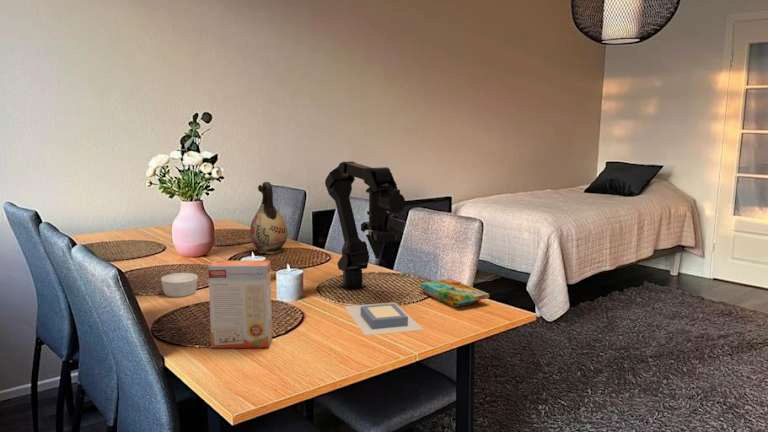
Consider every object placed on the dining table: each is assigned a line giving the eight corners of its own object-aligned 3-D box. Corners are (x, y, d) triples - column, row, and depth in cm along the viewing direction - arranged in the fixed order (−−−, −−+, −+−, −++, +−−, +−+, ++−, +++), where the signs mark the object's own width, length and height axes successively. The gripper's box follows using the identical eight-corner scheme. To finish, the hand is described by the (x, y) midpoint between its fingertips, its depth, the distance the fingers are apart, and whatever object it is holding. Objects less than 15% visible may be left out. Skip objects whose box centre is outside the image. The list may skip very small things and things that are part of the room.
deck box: (360, 306, 164) (372, 320, 153) (394, 303, 167) (407, 317, 156) (360, 314, 165) (372, 329, 153) (393, 311, 168) (407, 325, 156)
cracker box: (272, 339, 146) (271, 259, 143) (268, 349, 140) (267, 265, 137) (216, 339, 146) (214, 259, 142) (210, 349, 140) (207, 265, 136)
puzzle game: (449, 275, 192) (489, 291, 175) (448, 289, 193) (488, 306, 176) (420, 280, 186) (459, 297, 169) (419, 294, 187) (458, 312, 170)
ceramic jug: (246, 249, 245) (244, 179, 240) (282, 246, 252) (281, 178, 247) (255, 258, 230) (253, 183, 225) (293, 255, 237) (292, 182, 232)
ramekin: (186, 299, 177) (186, 283, 177) (154, 297, 180) (153, 280, 179) (205, 289, 188) (204, 273, 187) (174, 287, 190) (173, 271, 190)
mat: (343, 307, 172) (343, 306, 172) (394, 303, 176) (394, 302, 176) (365, 336, 149) (365, 335, 149) (423, 330, 154) (423, 329, 154)
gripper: (413, 212, 170) (412, 264, 172) (393, 203, 187) (393, 250, 190) (377, 213, 166) (376, 266, 169) (360, 204, 184) (360, 252, 187)
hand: (377, 258), depth 179 cm, fingers closed
